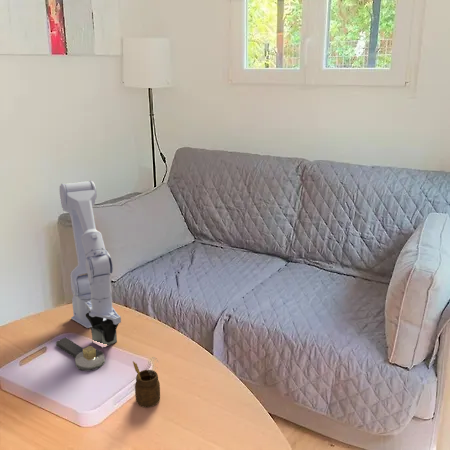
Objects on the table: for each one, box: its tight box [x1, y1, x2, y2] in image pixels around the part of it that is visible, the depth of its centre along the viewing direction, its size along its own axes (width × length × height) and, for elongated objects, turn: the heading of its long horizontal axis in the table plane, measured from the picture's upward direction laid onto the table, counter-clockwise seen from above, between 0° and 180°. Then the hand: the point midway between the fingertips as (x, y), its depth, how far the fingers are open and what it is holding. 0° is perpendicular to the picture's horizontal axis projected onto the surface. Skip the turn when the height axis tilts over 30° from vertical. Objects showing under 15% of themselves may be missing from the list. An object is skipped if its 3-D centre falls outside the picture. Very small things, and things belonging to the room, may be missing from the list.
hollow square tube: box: [90, 324, 118, 346], centre depth 148 cm, size 5×5×5 cm
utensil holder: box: [132, 356, 161, 408], centre depth 122 cm, size 6×6×12 cm
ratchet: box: [55, 337, 105, 372], centre depth 141 cm, size 18×8×4 cm, turn 48°
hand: (104, 337), depth 148 cm, fingers closed on hollow square tube, 5 cm apart
